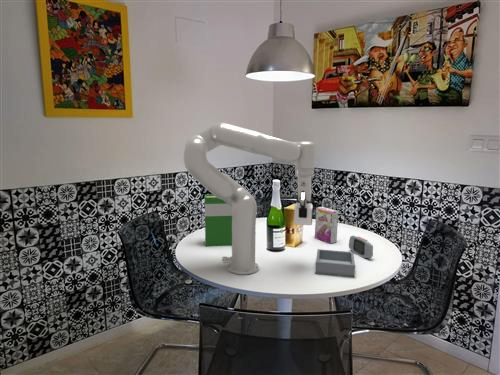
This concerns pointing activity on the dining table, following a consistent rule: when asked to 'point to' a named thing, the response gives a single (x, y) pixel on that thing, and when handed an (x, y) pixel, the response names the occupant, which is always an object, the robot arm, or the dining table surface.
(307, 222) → the medicine bottle
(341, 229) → the dining table surface
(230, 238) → the hardback book
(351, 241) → the handheld gaming console
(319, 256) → the walled bin
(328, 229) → the candy bar box
